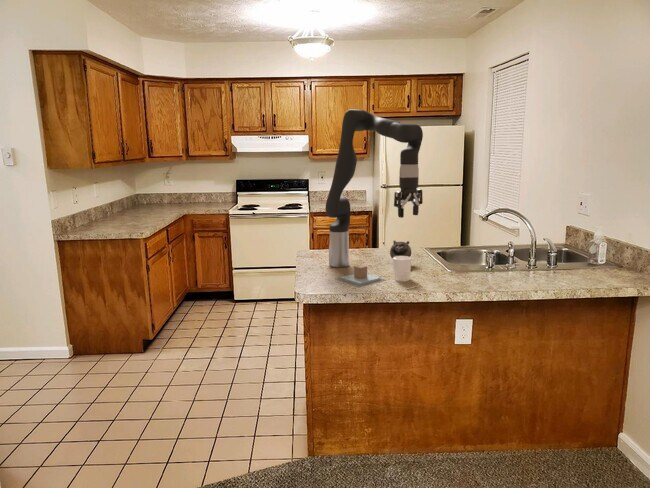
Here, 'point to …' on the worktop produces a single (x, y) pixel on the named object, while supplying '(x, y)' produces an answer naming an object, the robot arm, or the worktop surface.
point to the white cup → (401, 268)
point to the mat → (360, 285)
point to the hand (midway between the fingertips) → (408, 216)
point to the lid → (360, 276)
